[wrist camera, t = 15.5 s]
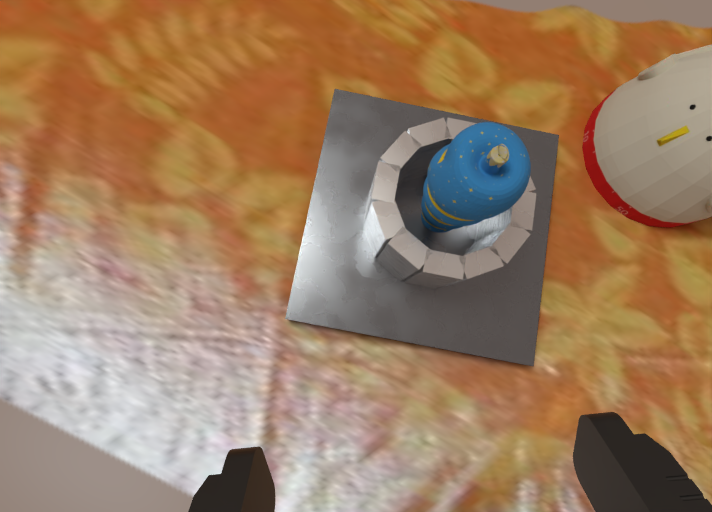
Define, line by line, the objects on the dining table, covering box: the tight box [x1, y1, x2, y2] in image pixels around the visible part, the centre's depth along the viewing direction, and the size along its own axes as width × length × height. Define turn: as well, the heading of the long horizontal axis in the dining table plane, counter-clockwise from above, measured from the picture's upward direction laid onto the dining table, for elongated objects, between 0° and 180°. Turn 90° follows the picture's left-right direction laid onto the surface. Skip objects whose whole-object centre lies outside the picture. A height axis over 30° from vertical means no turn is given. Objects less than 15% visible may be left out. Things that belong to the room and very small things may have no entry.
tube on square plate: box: [285, 89, 559, 366], centre depth 31 cm, size 20×20×8 cm
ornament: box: [421, 122, 531, 233], centre depth 26 cm, size 5×5×15 cm
